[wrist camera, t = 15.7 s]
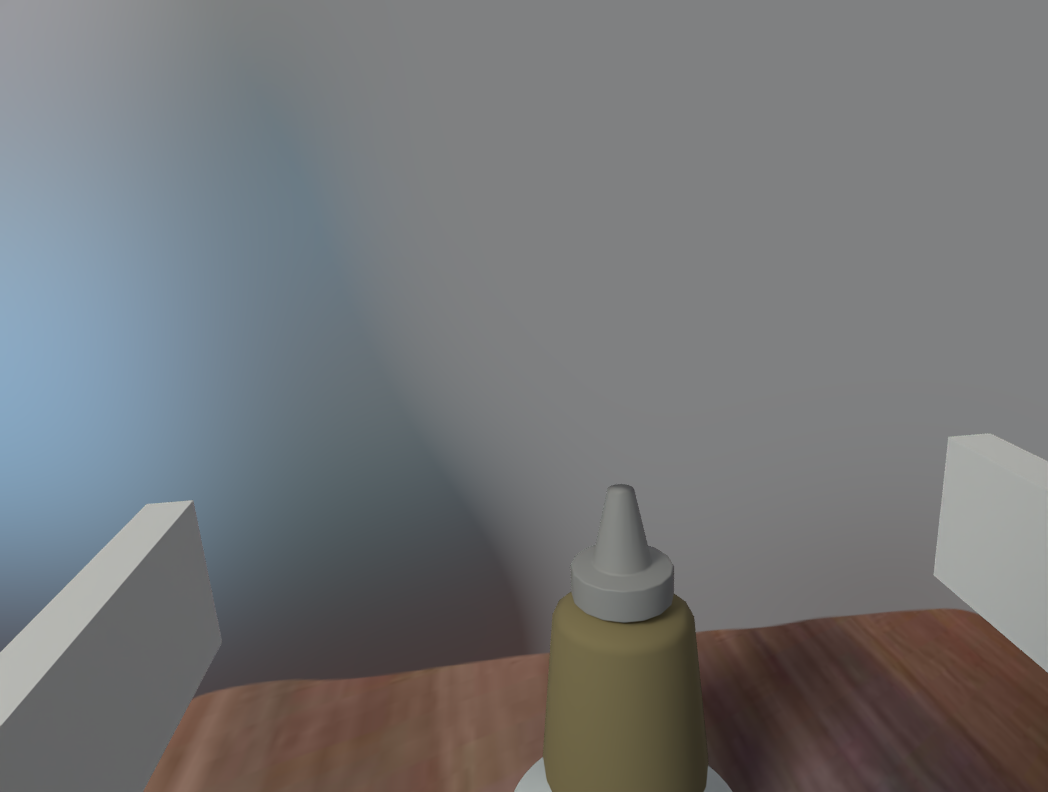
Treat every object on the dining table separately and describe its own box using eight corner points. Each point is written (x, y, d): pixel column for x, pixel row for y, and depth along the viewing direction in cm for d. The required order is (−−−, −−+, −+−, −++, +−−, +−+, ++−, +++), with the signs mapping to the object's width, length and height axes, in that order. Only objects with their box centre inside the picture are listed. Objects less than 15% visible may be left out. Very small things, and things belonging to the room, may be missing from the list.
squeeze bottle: (539, 886, 34) (519, 530, 29) (551, 756, 42) (537, 457, 37) (718, 897, 33) (729, 531, 28) (697, 762, 41) (703, 456, 36)
